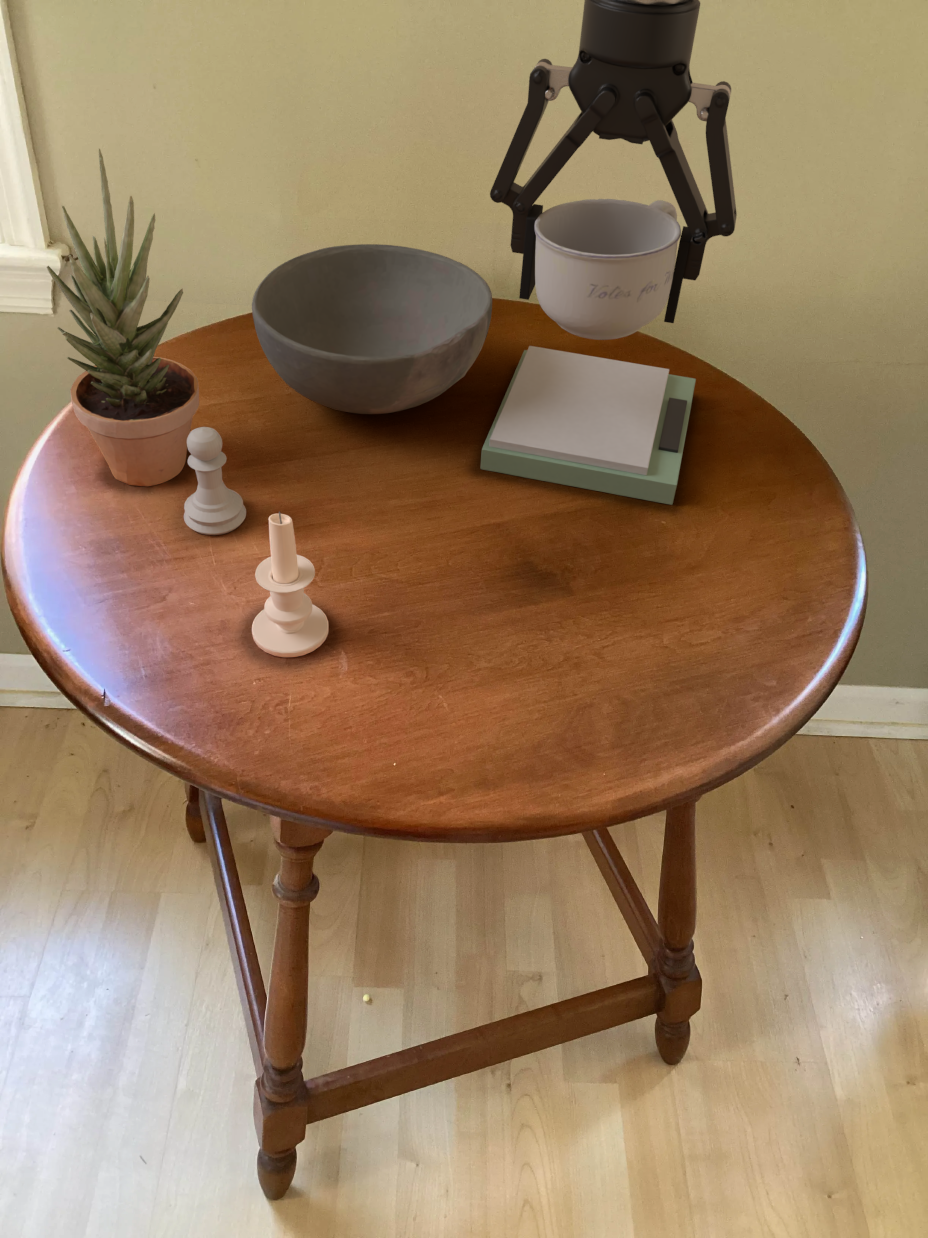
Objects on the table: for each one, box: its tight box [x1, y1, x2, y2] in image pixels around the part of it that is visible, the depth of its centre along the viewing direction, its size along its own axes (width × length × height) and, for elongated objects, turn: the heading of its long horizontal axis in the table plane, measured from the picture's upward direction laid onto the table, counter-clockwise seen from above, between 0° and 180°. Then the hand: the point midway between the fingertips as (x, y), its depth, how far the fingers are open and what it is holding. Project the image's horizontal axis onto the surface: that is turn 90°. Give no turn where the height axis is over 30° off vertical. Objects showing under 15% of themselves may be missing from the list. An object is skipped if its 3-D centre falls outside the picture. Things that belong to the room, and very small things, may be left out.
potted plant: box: [46, 148, 200, 487], centre depth 77 cm, size 10×10×25 cm
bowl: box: [251, 243, 493, 415], centre depth 91 cm, size 20×20×10 cm
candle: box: [251, 511, 329, 658], centre depth 68 cm, size 5×5×10 cm
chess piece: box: [183, 426, 247, 536], centre depth 78 cm, size 5×5×8 cm
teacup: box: [534, 198, 682, 341], centre depth 81 cm, size 14×11×8 cm
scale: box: [480, 345, 697, 506], centre depth 91 cm, size 16×17×3 cm
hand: (598, 303), depth 83 cm, fingers closed on teacup, 11 cm apart
